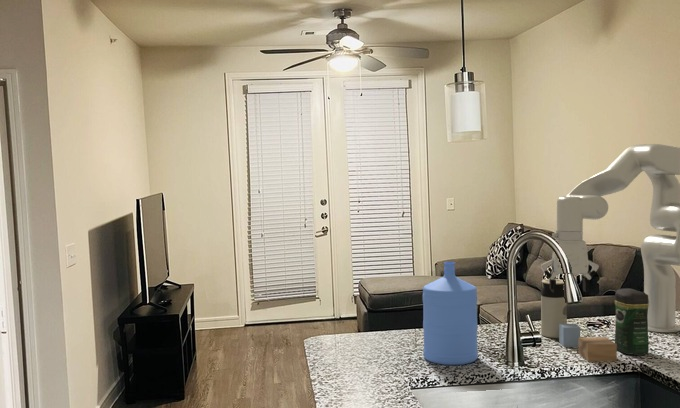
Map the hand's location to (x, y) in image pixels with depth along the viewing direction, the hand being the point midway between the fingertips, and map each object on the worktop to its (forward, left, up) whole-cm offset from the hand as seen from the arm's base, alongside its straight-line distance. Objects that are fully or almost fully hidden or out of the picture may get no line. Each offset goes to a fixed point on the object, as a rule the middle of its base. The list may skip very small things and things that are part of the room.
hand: (569, 291), depth 203 cm
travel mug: (-11, -2, -17) cm, 20 cm away
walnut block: (+14, +4, -17) cm, 22 cm away
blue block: (0, 0, -17) cm, 17 cm away
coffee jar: (+8, +16, -17) cm, 24 cm away
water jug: (+15, -38, -17) cm, 44 cm away
